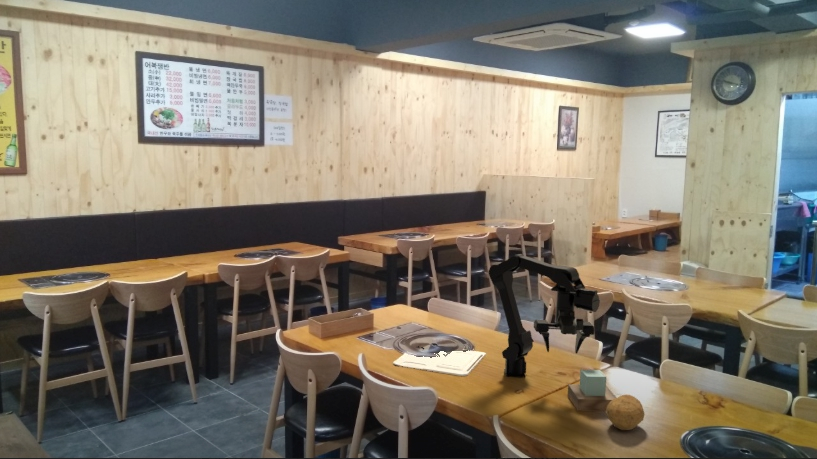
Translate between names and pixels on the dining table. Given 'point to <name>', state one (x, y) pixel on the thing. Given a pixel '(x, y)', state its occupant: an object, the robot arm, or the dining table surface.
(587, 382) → the teal cube
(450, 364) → the tray
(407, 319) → the dining table surface
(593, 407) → the walnut block
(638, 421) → the potato
